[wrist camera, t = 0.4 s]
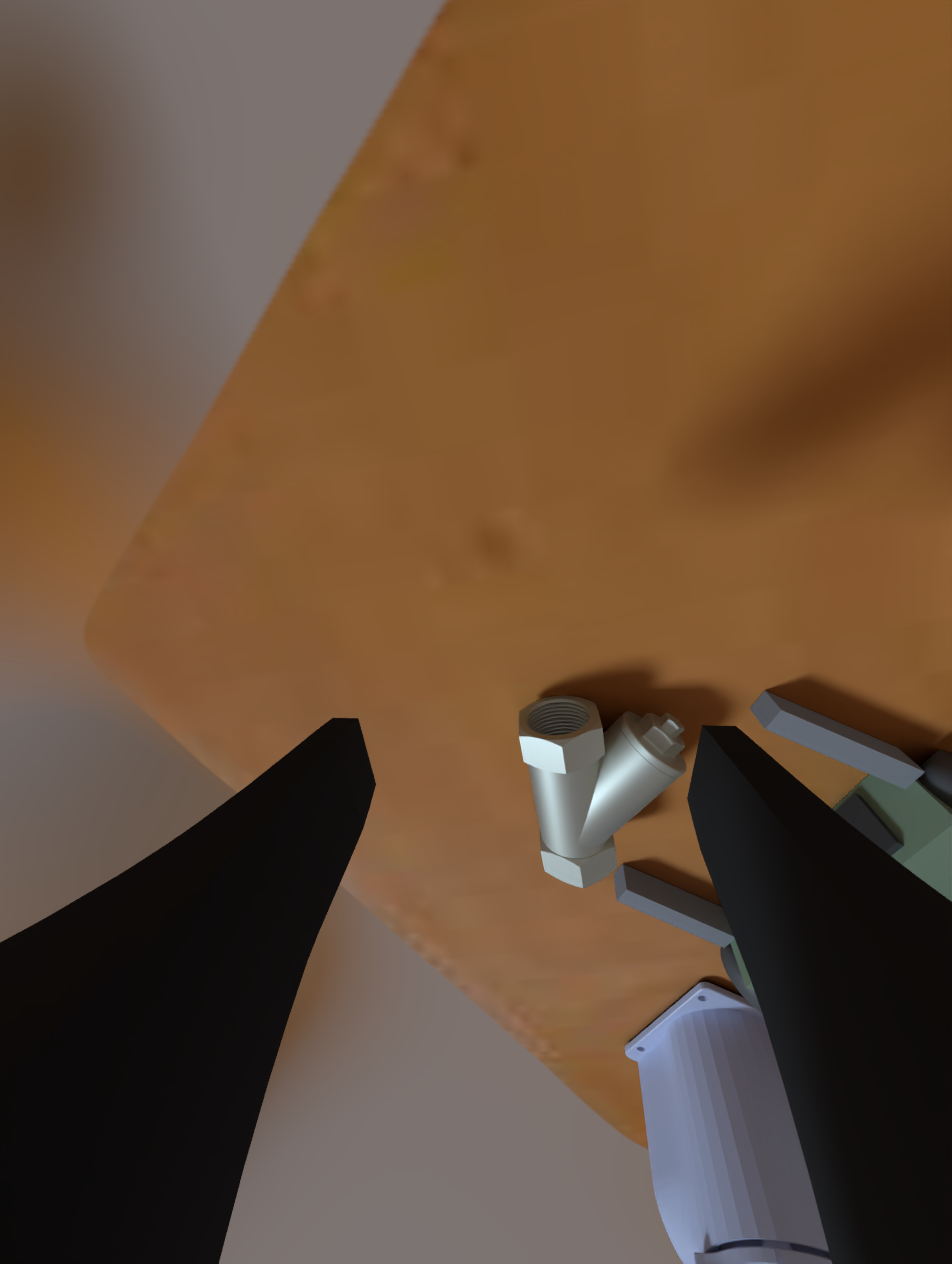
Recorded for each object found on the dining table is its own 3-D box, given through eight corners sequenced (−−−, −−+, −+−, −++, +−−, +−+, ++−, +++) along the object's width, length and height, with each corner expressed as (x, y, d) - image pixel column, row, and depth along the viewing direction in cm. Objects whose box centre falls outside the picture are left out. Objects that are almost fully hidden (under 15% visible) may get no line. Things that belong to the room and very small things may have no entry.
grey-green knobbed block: (846, 987, 24) (941, 1165, 18) (607, 882, 24) (622, 1023, 18) (1098, 815, 18) (1369, 999, 12) (775, 677, 18) (881, 789, 12)
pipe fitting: (667, 679, 19) (519, 697, 21) (700, 730, 16) (518, 748, 17) (673, 816, 22) (542, 825, 23) (702, 885, 19) (545, 892, 20)
